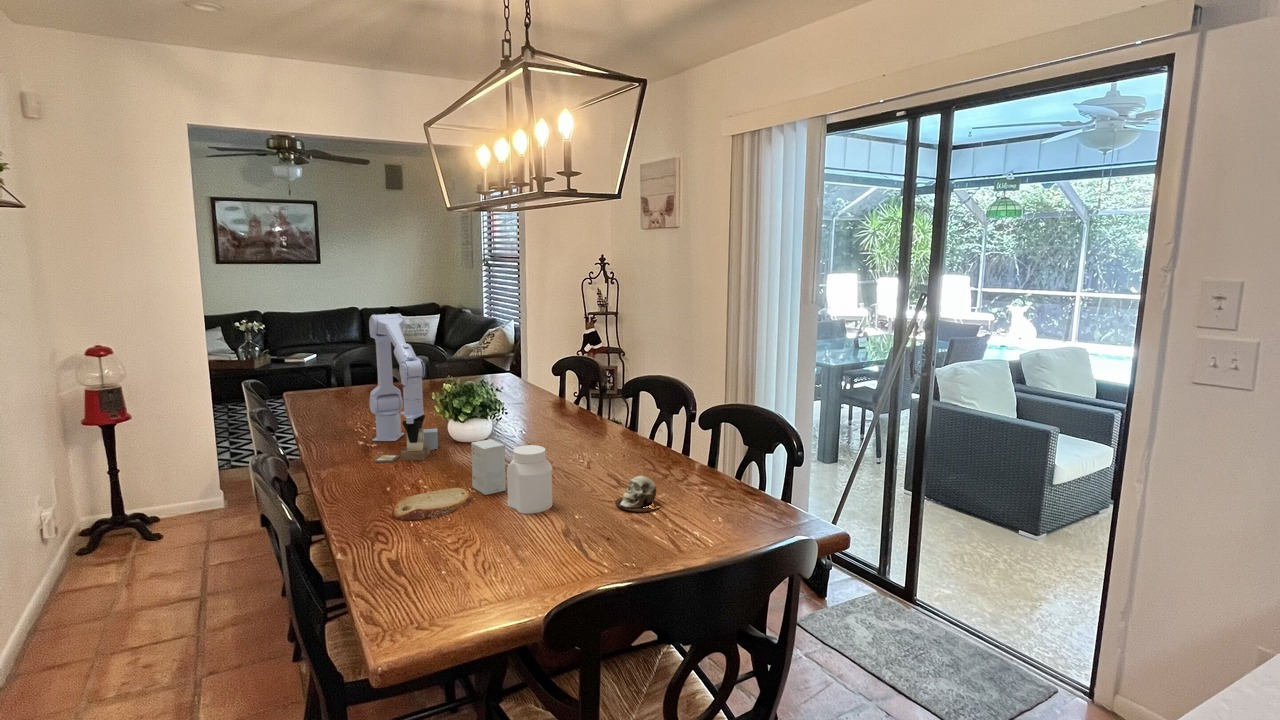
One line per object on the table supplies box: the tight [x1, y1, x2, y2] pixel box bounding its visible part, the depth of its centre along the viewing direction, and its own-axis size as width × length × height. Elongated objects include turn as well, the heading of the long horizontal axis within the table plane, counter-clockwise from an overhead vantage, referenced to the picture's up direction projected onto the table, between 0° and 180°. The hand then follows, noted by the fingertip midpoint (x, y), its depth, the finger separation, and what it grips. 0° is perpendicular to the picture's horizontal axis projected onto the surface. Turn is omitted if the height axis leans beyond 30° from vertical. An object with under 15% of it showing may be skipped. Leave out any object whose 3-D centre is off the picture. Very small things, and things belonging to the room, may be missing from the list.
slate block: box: [423, 428, 439, 451], centre depth 225 cm, size 4×4×6 cm
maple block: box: [406, 428, 424, 451], centre depth 215 cm, size 4×4×6 cm
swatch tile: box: [373, 454, 401, 463], centre depth 212 cm, size 6×6×1 cm
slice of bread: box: [391, 487, 472, 522], centre depth 174 cm, size 18×18×4 cm
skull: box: [614, 475, 657, 513], centre depth 178 cm, size 12×10×10 cm
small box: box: [470, 438, 507, 496], centre depth 187 cm, size 8×6×13 cm
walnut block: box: [400, 446, 431, 461], centre depth 215 cm, size 7×7×3 cm
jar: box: [506, 444, 553, 515], centre depth 175 cm, size 12×10×15 cm
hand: (414, 440), depth 215 cm, fingers closed on maple block, 4 cm apart
